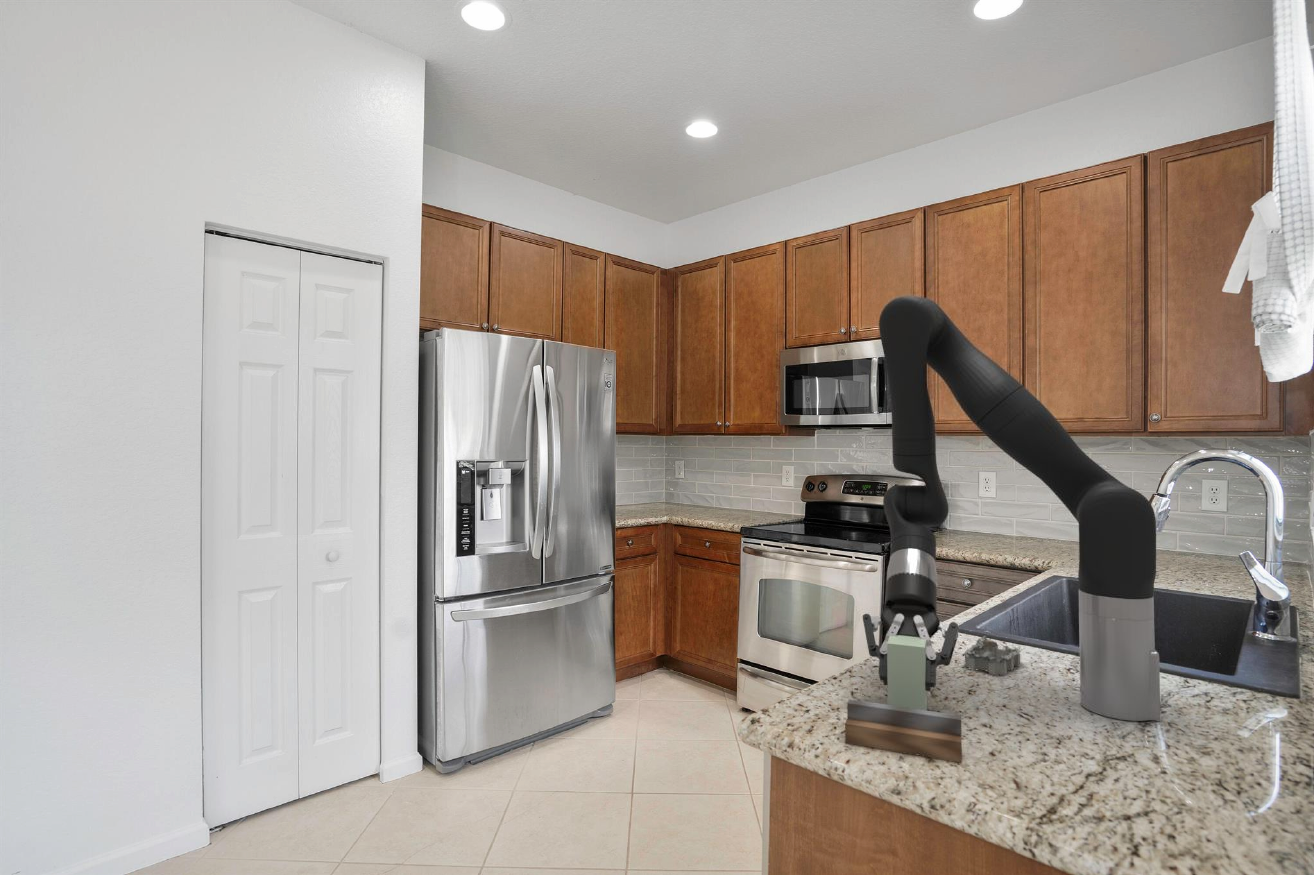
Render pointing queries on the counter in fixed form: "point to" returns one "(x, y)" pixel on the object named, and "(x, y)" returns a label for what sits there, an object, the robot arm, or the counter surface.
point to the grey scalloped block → (991, 657)
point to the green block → (906, 672)
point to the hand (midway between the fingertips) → (906, 685)
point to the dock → (904, 730)
